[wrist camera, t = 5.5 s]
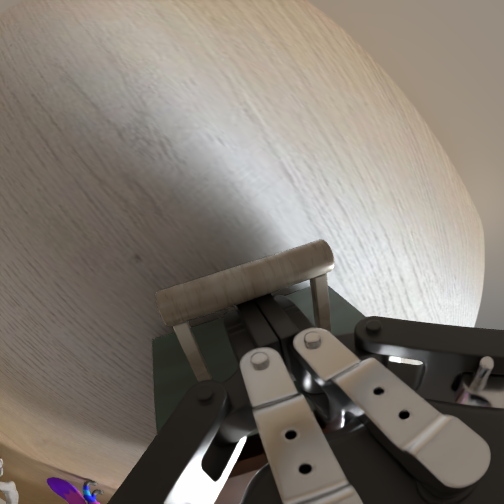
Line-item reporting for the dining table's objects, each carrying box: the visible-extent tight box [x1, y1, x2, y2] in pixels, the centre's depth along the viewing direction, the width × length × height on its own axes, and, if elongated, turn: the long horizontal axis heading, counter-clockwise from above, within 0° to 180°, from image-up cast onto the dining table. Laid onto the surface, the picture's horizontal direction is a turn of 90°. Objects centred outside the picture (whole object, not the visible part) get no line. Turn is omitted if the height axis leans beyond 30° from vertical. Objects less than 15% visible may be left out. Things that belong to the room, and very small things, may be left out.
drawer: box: [152, 240, 401, 463], centre depth 15 cm, size 19×11×8 cm, turn 12°
